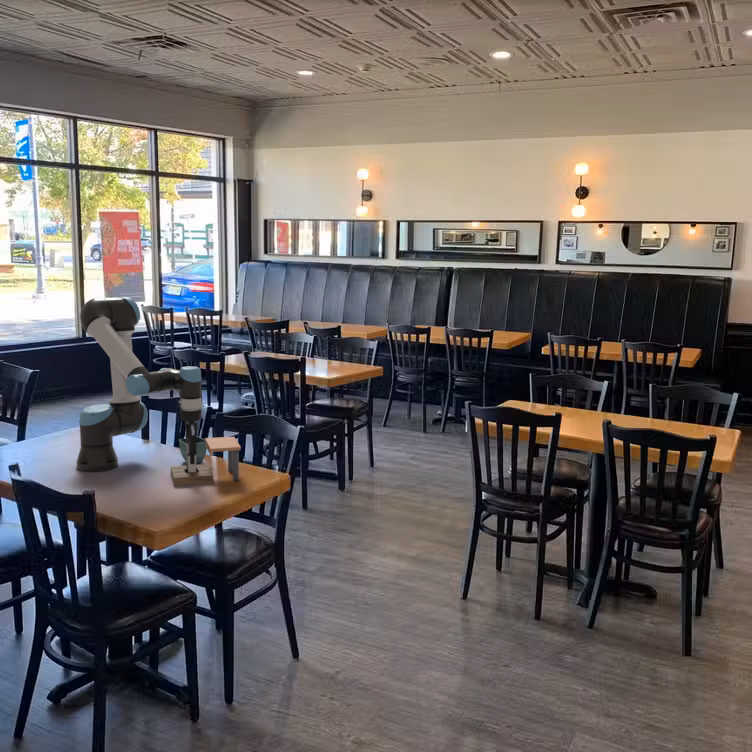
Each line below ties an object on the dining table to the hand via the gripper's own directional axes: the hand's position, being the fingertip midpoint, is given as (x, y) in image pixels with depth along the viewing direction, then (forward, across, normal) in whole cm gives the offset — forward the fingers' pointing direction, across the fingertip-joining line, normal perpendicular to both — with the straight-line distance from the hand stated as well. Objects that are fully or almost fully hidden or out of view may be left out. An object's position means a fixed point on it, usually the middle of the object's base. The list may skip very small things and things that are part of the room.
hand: (191, 470), depth 283 cm
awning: (+3, 0, +12) cm, 12 cm away
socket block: (+3, 0, 0) cm, 3 cm away
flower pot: (+4, -21, +3) cm, 22 cm away
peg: (+2, 0, 0) cm, 2 cm away
